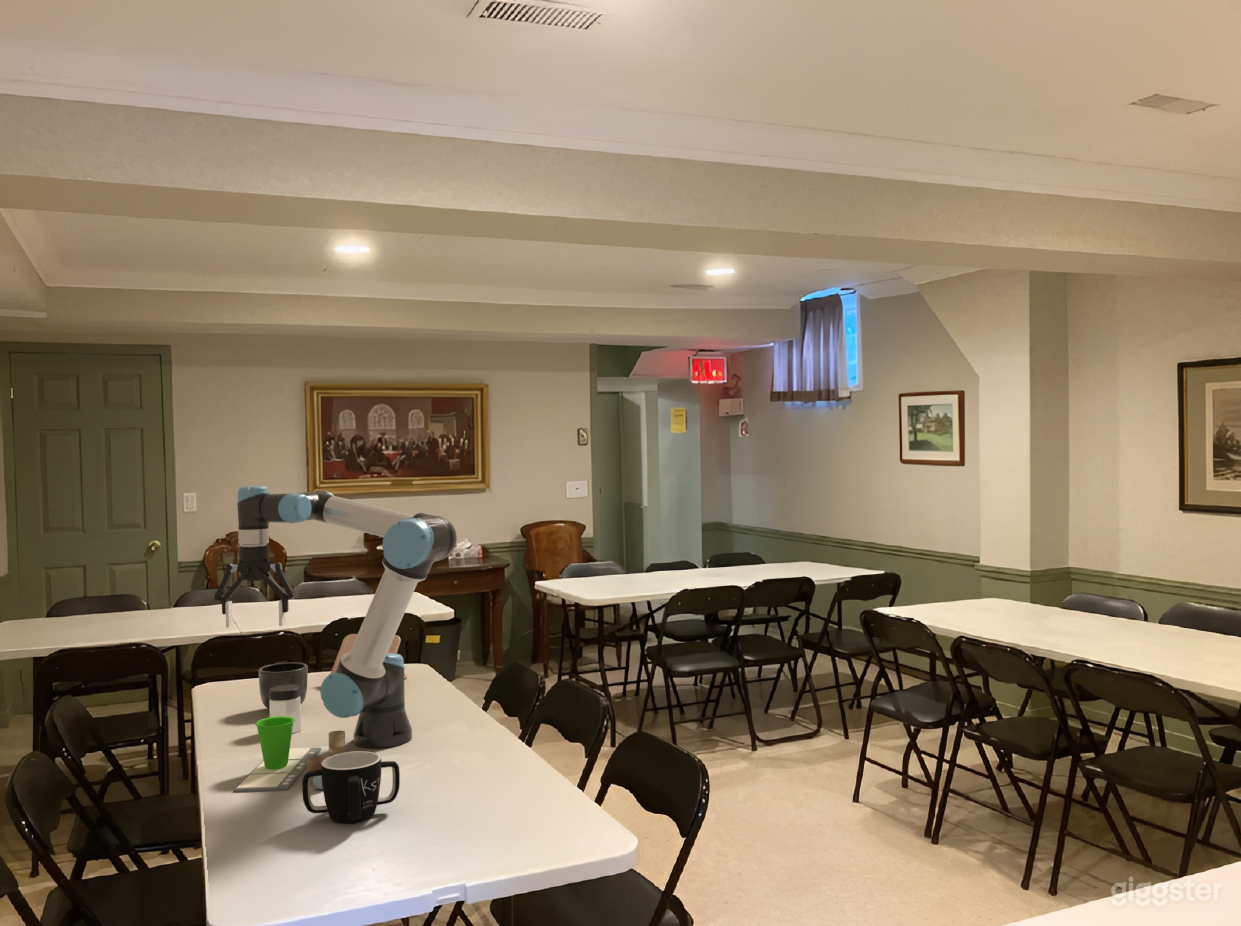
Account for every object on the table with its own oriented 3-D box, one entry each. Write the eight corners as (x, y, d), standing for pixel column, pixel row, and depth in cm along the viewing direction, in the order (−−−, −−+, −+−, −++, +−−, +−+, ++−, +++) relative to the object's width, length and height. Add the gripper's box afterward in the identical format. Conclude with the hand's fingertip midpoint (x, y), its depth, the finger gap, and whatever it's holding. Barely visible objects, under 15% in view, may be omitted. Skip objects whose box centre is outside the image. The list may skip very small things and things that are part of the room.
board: (321, 749, 249) (321, 746, 249) (287, 789, 219) (287, 786, 219) (273, 751, 248) (273, 748, 248) (233, 791, 218) (233, 788, 218)
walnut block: (328, 775, 229) (328, 754, 229) (331, 782, 224) (331, 760, 224) (306, 779, 227) (306, 757, 227) (309, 785, 222) (308, 763, 222)
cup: (259, 774, 228) (258, 728, 227) (254, 764, 236) (253, 719, 235) (298, 768, 232) (297, 722, 232) (292, 758, 240) (291, 714, 240)
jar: (268, 728, 270) (268, 685, 270) (299, 725, 273) (298, 682, 273) (270, 737, 261) (269, 693, 261) (302, 733, 265) (301, 689, 264)
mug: (349, 837, 191) (348, 776, 191) (295, 822, 199) (294, 764, 199) (408, 810, 205) (407, 754, 205) (355, 797, 213) (354, 743, 213)
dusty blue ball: (331, 785, 221) (330, 770, 221) (327, 791, 218) (326, 775, 218) (315, 786, 221) (314, 770, 221) (311, 791, 218) (310, 775, 217)
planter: (318, 707, 292) (317, 664, 292) (280, 718, 280) (279, 674, 280) (288, 701, 299) (287, 660, 299) (249, 712, 288) (248, 669, 287)
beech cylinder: (347, 753, 245) (346, 730, 245) (343, 758, 241) (343, 734, 241) (331, 754, 245) (330, 730, 245) (327, 759, 241) (326, 735, 241)
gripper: (306, 542, 257) (307, 621, 257) (210, 544, 256) (212, 624, 256) (298, 545, 249) (300, 626, 250) (199, 547, 248) (201, 629, 248)
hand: (255, 625), depth 253 cm, fingers open, 13 cm apart
